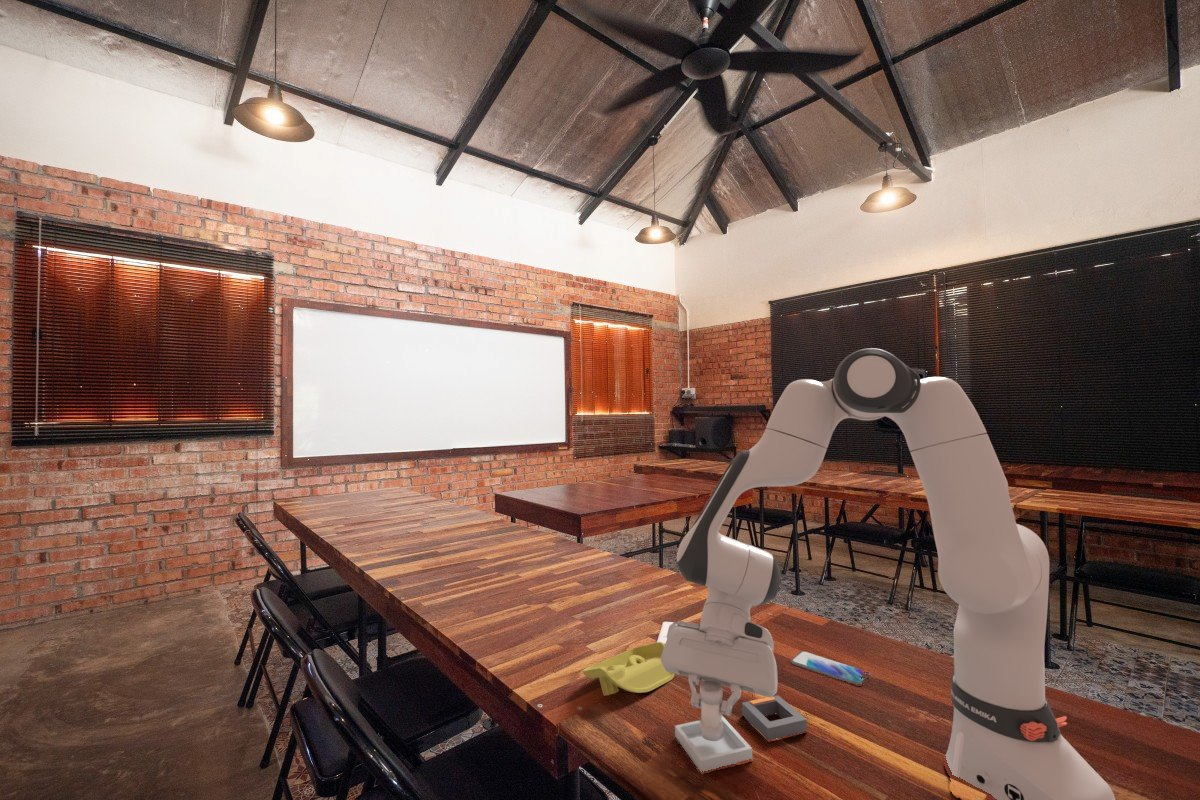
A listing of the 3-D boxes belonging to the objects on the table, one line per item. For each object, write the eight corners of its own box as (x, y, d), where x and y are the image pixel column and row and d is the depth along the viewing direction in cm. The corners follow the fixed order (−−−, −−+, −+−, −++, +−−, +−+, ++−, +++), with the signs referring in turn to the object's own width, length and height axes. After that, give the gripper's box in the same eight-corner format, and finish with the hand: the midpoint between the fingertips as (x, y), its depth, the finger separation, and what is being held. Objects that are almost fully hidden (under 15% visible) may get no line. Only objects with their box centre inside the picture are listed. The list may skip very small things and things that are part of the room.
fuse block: (806, 733, 91) (806, 718, 91) (768, 742, 88) (767, 727, 88) (778, 708, 98) (778, 694, 98) (742, 716, 96) (741, 701, 96)
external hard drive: (694, 630, 134) (690, 652, 122) (662, 627, 136) (656, 648, 124) (694, 624, 134) (690, 645, 122) (662, 621, 136) (656, 642, 124)
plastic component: (635, 647, 119) (667, 640, 113) (645, 681, 116) (678, 676, 110) (573, 673, 105) (605, 666, 99) (582, 713, 102) (616, 708, 96)
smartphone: (801, 650, 121) (871, 672, 110) (801, 653, 121) (871, 676, 110) (789, 660, 115) (861, 684, 105) (789, 664, 115) (861, 689, 105)
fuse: (727, 738, 86) (726, 690, 86) (707, 743, 85) (706, 694, 85) (715, 724, 89) (715, 679, 89) (696, 729, 88) (695, 682, 88)
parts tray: (752, 761, 84) (752, 748, 84) (701, 774, 81) (700, 760, 81) (722, 727, 93) (722, 715, 93) (675, 738, 90) (674, 725, 90)
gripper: (666, 611, 98) (647, 688, 89) (778, 632, 88) (769, 720, 80) (674, 625, 102) (657, 700, 93) (782, 647, 92) (774, 733, 84)
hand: (710, 710), depth 86 cm, fingers closed on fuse, 4 cm apart
